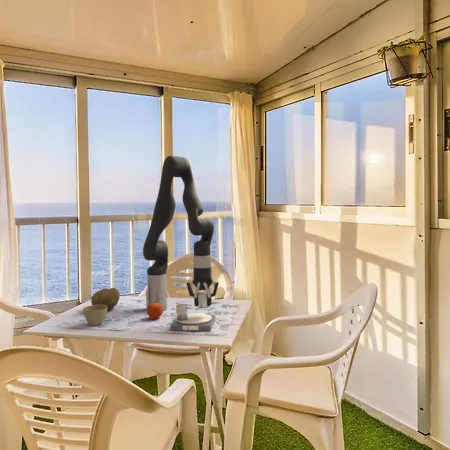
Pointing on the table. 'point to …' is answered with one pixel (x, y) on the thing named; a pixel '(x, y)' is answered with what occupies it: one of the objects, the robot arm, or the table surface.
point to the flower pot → (95, 314)
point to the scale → (194, 323)
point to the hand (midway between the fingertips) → (203, 306)
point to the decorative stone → (106, 297)
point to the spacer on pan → (181, 312)
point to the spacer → (202, 300)
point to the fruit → (154, 310)
